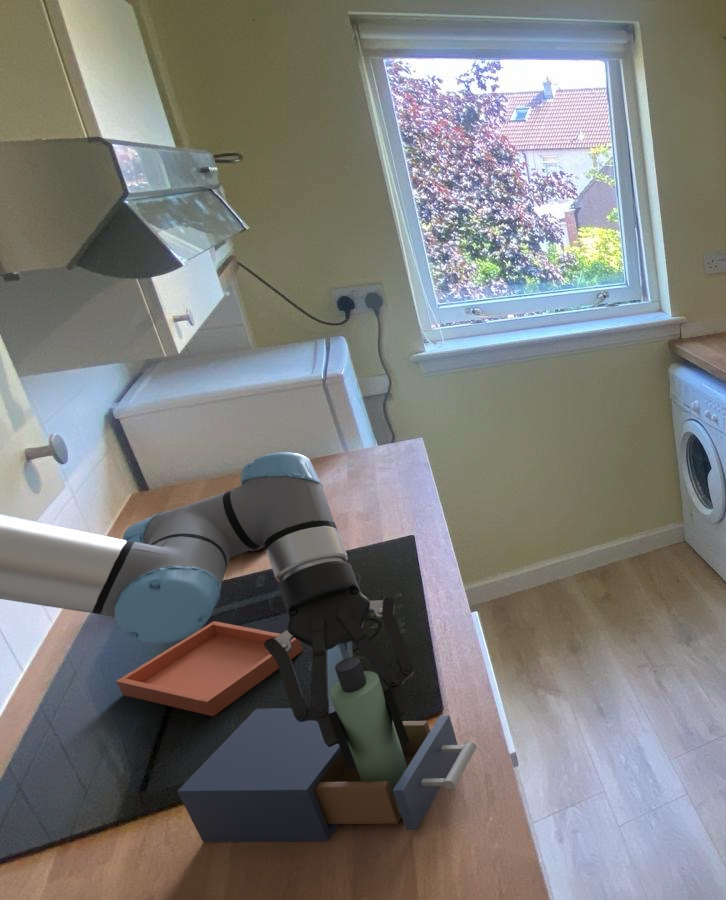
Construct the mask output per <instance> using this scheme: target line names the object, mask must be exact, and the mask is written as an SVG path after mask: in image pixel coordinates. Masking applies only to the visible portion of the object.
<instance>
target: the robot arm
mask: <svg viewBox="0 0 726 900" xmlns="http://www.w3.org/2000/svg"><path fill="white" fill-rule="evenodd" d="M240 478H241V480H240V484H241V485H239V486H237V487H234V488H232V489H230V490H228V491H227V490H226V491H224V492H222V493H219V494H216V495H212V496H210V497H209V496H208V497H207V498H204V499H201V500H197V501H195V502H191V503H189V504H186V505H183V506H179V507H176V508H173V509H171V510H170V509H169V510H165V511H162V512H157V513H155V514H153V515H152V516H150V517H148V518H145V519H143V520H140V521H138V522H136V523H133V524H131V525H130V526H128V527H127V529H125V531H124V532H123V536H122V539H121V538H116V537H113V536H108V535H102V534H97V533H93V532H88V531H84V530H79V529H75V528H70V527H64V526H60V525H55V524H50V523H45V522H41V521H35V520H31V519H26V518H22V517H21V518H20V517H16V516H12V515H7V514H2V513H0V600H4V601H10V602H17V603H24V604H31V605H37V606H44V607H50V608H56V609H62V610H63V609H64V610H67V611H68V610H70V611H76V612H82V613H90V614H95V615H101V616H105V617H109V618H110V617H111V618H114V619H115V622H116V625H117V626H118V628H119V629H120V631H122V632H123V633H124V634H126V635H127V636H128V637H131V638H133V639H135V640H136V641H139V642H142V643H147V644H158V645H160V644H161V645H162V644H168V643H169V644H170V643H173V642H178V641H182V640H184V639H186V638H187V637H189V636H190V635H192V634H194V633H195V632H197V631H199V630H200V629H202V628H204V627H205V626H206V623H207V622H208V621H209V619H210V618H211V617H212V614H213V612H214V609H215V607H217V605H218V603H219V601H220V599H221V590H222V585H223V581H224V577H225V574H226V571H227V569H228V565H229V561H230V558H233V557H235V556H238V555H241V554H243V553H246V552H250V551H249V550H251V549H254V548H257V547H259V546H261V545H263V544H264V545H265V547H264V549H265V552H266V555H267V558H268V561H269V564H270V566H271V569H272V573H273V575H274V577H275V578H274V579H275V581H276V582H278V583H280V584H279V586H278V589H279V593H280V595H281V598H282V602H283V604H284V608H285V610H286V614H287V616H288V617H287V618H288V621H287V624H286V630H284V631H283V632H281V633H279V634H280V635H279V636H277V637H276V638H274V639H273V638H271V639H268V640H266V641H265V643H264V646H265V648H266V650H267V651H268V652H269V654H270V655H271V656H272V657H273V658H274V659H275V660H276V662H277V665H278V668H279V669H278V671H279V674H280V677H281V680H282V683H283V686H284V690H285V692H286V695H287V698H288V702H289V705H290V708H292V711H293V714H294V717H295V718H296V719H297V721H299V722H304V721H311V720H314V721H317V722H318V724H319V727H320V730H321V733H322V736H323V739H324V742H325V744H326V745H327V746H328V747H331V746H333V745H335V744H338V743H339V746H340V749H341V752H342V755H343V758H344V761H345V764H346V767H347V770H348V771H349V772H350V771H352V770H355V769H356V766H355V763H354V760H353V757H352V754H351V751H350V748H349V746H348V743H347V740H346V737H345V734H344V731H343V729H342V726H341V723H340V720H339V717H338V715H337V712H336V711H335V712H333V713H330V714H329V708H330V700H329V699H330V698H329V697H330V696H329V695H330V694H329V669H328V668H329V667H328V650H331V649H333V648H335V647H337V646H338V645H340V644H347V643H350V642H353V643H354V644H355V646H356V647H357V649H359V651H360V652H361V653H362V655H363V656H364V657H365V659H366V660H367V662H368V663H369V664H370V665H371V667H372V668H373V669H374V671H375V673H376V674H377V675H378V677H380V680H382V682H383V683H384V684H385V686H386V687H387V688H388V689H386V690H383V692H384V696H385V699H386V702H387V705H388V708H389V711H390V714H391V717H392V720H393V723H394V726H395V728H396V731H397V734H398V737H399V739H400V742H401V745H402V747H404V746H406V745H408V744H409V739H408V736H407V733H406V730H405V728H404V725H403V722H402V721H403V720H402V717H401V716H403V715H406V714H408V713H409V708H410V707H409V703H408V700H407V698H406V694H405V692H404V688H403V685H404V683H405V682H406V681H408V680H409V679H410V678H412V677H413V675H414V670H415V669H414V665H413V662H412V660H411V659H412V658H411V657H410V654H409V651H408V649H407V646H406V644H405V641H404V638H403V636H402V634H401V630H400V628H399V625H398V623H397V620H396V617H395V599H394V598H393V597H392V596H387V597H385V598H384V599H381V600H370V599H369V598H368V597H367V596H365V595H364V594H363V593H362V591H361V589H360V585H359V583H358V580H357V578H356V575H355V572H354V570H353V568H352V565H351V563H349V562H347V561H348V559H349V556H348V554H347V551H346V548H345V545H344V542H343V540H342V537H341V535H340V532H339V530H338V527H337V525H336V522H335V519H334V516H333V514H332V511H331V510H332V509H331V507H330V505H329V502H328V500H327V496H326V492H325V490H324V484H323V483H321V481H320V479H319V476H318V474H317V472H316V470H315V468H314V466H313V463H312V461H311V459H310V458H308V457H307V456H305V455H303V454H300V453H298V452H292V451H291V452H289V451H281V452H273V453H269V454H265V455H261V456H260V457H257V458H255V459H254V460H253V461H252V462H249V463H247V464H245V465H244V466H243V468H242V469H241V472H240ZM369 612H373V614H374V615H375V617H376V618H377V619H378V620H379V619H380V620H382V623H383V627H384V630H385V633H386V636H387V638H388V641H389V644H390V646H391V649H392V652H393V654H394V657H395V659H396V662H397V665H398V667H399V670H398V671H397V672H395V671H394V670H393V668H392V667H391V666H390V665H389V663H388V662H387V660H386V659H385V658H384V656H383V655H382V654H381V653H380V651H379V650H378V649H377V647H376V646H375V644H374V643H373V641H372V640H371V639H370V638H369V637H368V636H367V634H366V631H364V629H363V627H364V625H365V622H366V620H367V617H368V614H369ZM293 638H296V639H297V640H299V641H300V643H301V642H302V643H303V644H305V645H307V646H309V647H311V648H312V650H311V651H312V665H313V666H312V668H313V671H312V672H313V702H314V703H313V704H314V706H312V707H311V706H310V707H308V706H307V704H306V701H305V697H304V694H303V691H302V688H301V685H300V682H299V680H298V679H299V678H298V677H297V674H296V670H295V668H294V664H293V661H292V659H290V657H289V655H288V653H289V652H290V651H291V650H292V646H291V640H292V639H293Z"/></svg>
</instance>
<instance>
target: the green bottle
mask: <svg viewBox="0 0 726 900" xmlns="http://www.w3.org/2000/svg"><path fill="white" fill-rule="evenodd" d="M363 669H364V668H363V666H362V662H361V660H360V659H359V658H358V657H357V656H350V657H346V658H344V659H342V660H340V661H339V662H337V663H336V664H335V666H334V670H335V673H336V675H337V679H338V681H337V682H336V683H335V684H333V686H332V687H331V689H330V692H329V695H330V698H331V701H332V704H333V708H335V709H336V712H337V715H338V717H339V720H340V723H341V726H342V729H343V731H344V734H345V737H346V740H347V743H348V745H349V748H350V751H351V754H352V756H353V759H354V762H355V765H356V768H357V770H358V773H359V776H360V779H361V781H362V782H374V781H388V783H389V786H390V789H391V791H392V794H393V795H394V793H393V789H394V788H395V786H396V784H397V783H398V781H399V780H400V778H401V777H402V775H403V773H404V772H405V770H406V769H407V763H406V760H405V757H404V754H403V751H402V748H401V745H400V742H399V739H398V736H397V733H396V730H395V726H394V723H393V720H392V717H391V714H390V711H389V708H388V705H387V702H386V699H385V696H384V692H383V691H384V690H383V687H382V682H381V681H380V680H381V679H380V678H379V677H380V676H379V675H378V673H377V672H374V671H371V670H363Z"/></svg>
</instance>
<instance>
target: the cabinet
mask: <svg viewBox="0 0 726 900" xmlns="http://www.w3.org/2000/svg"><path fill="white" fill-rule="evenodd" d="M335 711H336V709H335V707H329V714H330V713H333V712H335ZM340 753H341V749H340V746H339V743H338V744H335V745H333V746H331V747H328V746H327V745H326V744H325V742H324V739H323V736H322V733H321V730H320V727H319V724H318V722H317V721H314V720H311V721H304V722H299V721H297V719H296V718H295V717H294V714H293V711H292V708H291V707H287V708H286V707H285V708H282V707H281V708H276V707H275V708H255V709H254V710H253V711H252V712H251V713H250V714H249V715H248V717H247V718H246V719H245V720H244V721H243V722H242V723H241V724H240V725H239V726H238V727H237V728H236V729H235V730H234V731H233V732H232V733H231V734H230V736H228V737H227V739H226V740H225V741H223V742H222V744H221V745H220V746H219V747H218V748H217V749H216V750H215V751H214V752H213V753H212V754H211V755H210V756H209V757H208V758H207V759H206V760H205V761H204V763H202V764H201V766H200V767H199V768H197V770H195V772H194V773H193V774H192V775H190V777H189V778H188V779H187V780H186V781H185V782H184V783H183V785H181V787H180V788H179V789H177V791H176V792H177V794H178V796H179V798H180V800H181V802H182V804H183V805H184V808H185V810H186V811H187V814H188V816H189V818H190V819H191V821H192V823H193V825H194V827H195V829H196V831H197V834H198V835H199V838H200V840H201V842H202V843H291V842H293V843H296V842H297V843H298V842H299V843H303V842H306V843H307V842H308V843H309V842H329V841H330V839H331V837H332V836H333V835H334V833H335V831H336V830H337V828H338V827H339V826H340V824H327V823H326V820H325V818H324V815H323V813H322V810H321V808H320V805H319V803H318V800H317V798H316V796H315V793H314V791H313V789H314V787H315V786H316V785H317V783H318V782H319V781H320V779H321V778H322V777H323V775H324V774H325V773H326V771H327V770H328V769H329V767H330V766H331V765H332V763H333V762H334V761H335V760H336V758H337V757H338V756H339V754H340Z"/></svg>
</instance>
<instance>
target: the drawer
mask: <svg viewBox="0 0 726 900" xmlns="http://www.w3.org/2000/svg"><path fill="white" fill-rule="evenodd" d="M402 722H403V725H404V728H405V730H406V733H407V736H408V739H409V744H408V745H406V746H404V747H402V745H401V742H400V739H399V737H398V739H399V742H400V745H401V748H402V751H403V754H404V757H405V760H406V763H407V769H406V770H405V772H404V773H403V775H402V777H401V778H400V780H399V781H398V783H397V784H396V786H395V788H394V789H393V793H394V795H393V794H392V791H391V789H390V786H389V783H388V781H374V782H362V781H361V779H360V776H359V773H358V770H357V768H356V769H355V770H352V771H350V772H349V771H348V770H347V767H346V764H345V761H344V758H343V755H342V752H341V753H340V754H339V756H338V757H337V758H336V760H335V761H334V762H333V763H332V765H331V766H330V767H329V769H328V770H327V771H326V773H325V774H324V775H323V777H322V778H321V779H320V781H319V782H318V783H317V785H316V786H315V787H314V789H313V791H314V793H315V796H316V798H317V800H318V803H319V805H320V808H321V810H322V813H323V815H324V818H325V820H326V823H327V824H339V825H346V824H347V825H349V824H350V825H352V824H353V825H354V824H355V825H357V824H359V825H361V824H363V825H364V824H365V825H366V824H399V821H400V820H402V822H403V825H404V827H405V830H406V831H417V830H418V828H419V827H420V825H421V823H422V821H423V819H424V817H425V815H426V814H427V812H428V810H429V809H430V808H431V804H433V801H434V800H435V798H436V796H437V795H438V793H439V791H440V790H441V787H444V789H446V790H450V791H451V790H454V789H455V788H456V787H457V784H458V783H459V781H460V779H461V777H462V776H463V774H464V772H465V770H466V768H467V766H468V764H469V763H470V761H471V758H472V756H473V755H474V753H475V751H476V750H477V744H476V743H475V742H474V741H469V740H468V741H467V742H465V744H458V741H457V737H456V734H455V730H454V727H453V724H452V720H451V716H450V715H449V714H446V715H445V714H444V715H443V714H442V715H439V717H438V719H436V721H435V723H434V724H433V725H432V727H431V729H430V725H429V722H428V721H427V720H402ZM395 730H396V728H395ZM396 733H397V731H396ZM397 736H398V734H397ZM348 746H349V745H348ZM352 757H353V756H352ZM353 760H354V759H353ZM354 763H355V762H354ZM355 766H356V765H355Z"/></svg>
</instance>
